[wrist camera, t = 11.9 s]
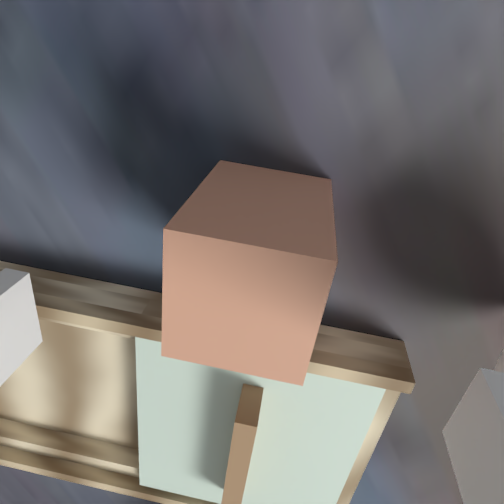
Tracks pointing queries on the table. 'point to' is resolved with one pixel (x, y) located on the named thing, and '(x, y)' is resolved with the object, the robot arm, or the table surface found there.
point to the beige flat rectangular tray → (125, 385)
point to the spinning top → (500, 363)
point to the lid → (246, 432)
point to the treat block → (249, 271)
